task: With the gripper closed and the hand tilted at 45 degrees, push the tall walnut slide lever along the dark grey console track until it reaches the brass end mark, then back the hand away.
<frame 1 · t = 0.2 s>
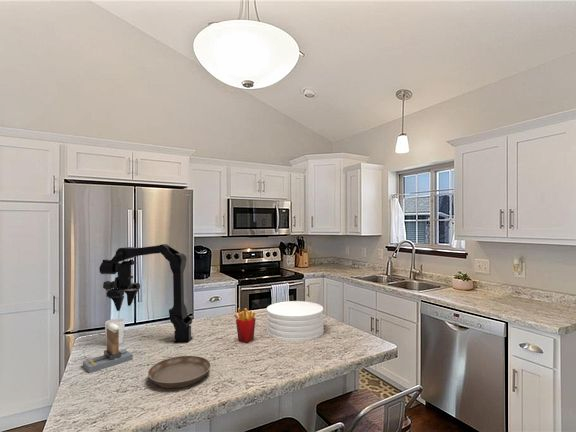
hand: (123, 308, 146), 15 cm above the counter, tool pointing down, fingers open, 9 cm apart
plant saucer: (180, 377, 110), on the counter
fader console: (108, 362, 122), on the counter
french fries: (245, 342, 143), on the counter
slide lever: (112, 339, 123), point 8 cm above the counter, slide at 0.0 cm
plate stack: (295, 331, 156), on the counter
white cup: (114, 343, 142), on the counter
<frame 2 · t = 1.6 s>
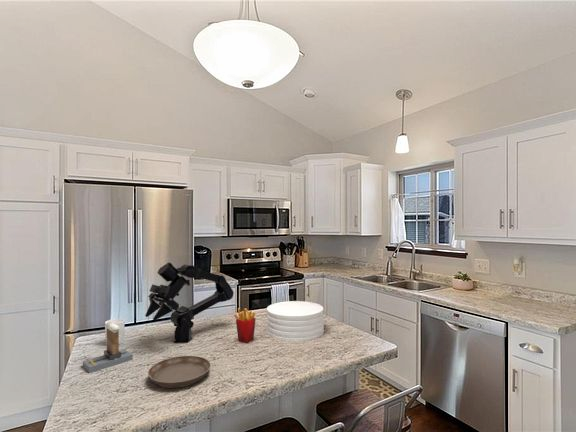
hand: (149, 318, 134), 13 cm above the counter, tool tilted 45°, fingers open, 7 cm apart
nothing on the counter moved.
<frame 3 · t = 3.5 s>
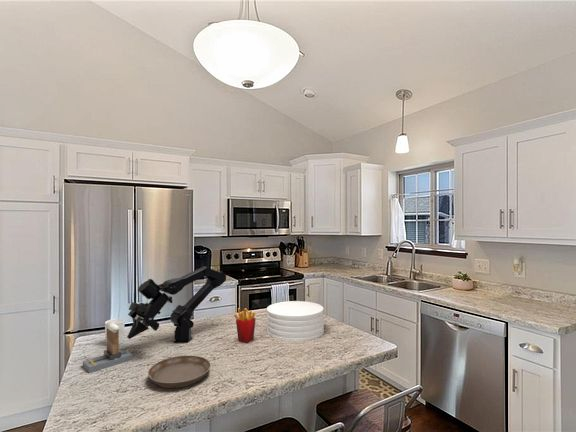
hand: (128, 338, 127), 7 cm above the counter, tool tilted 45°, fingers closed
nothing on the counter moved.
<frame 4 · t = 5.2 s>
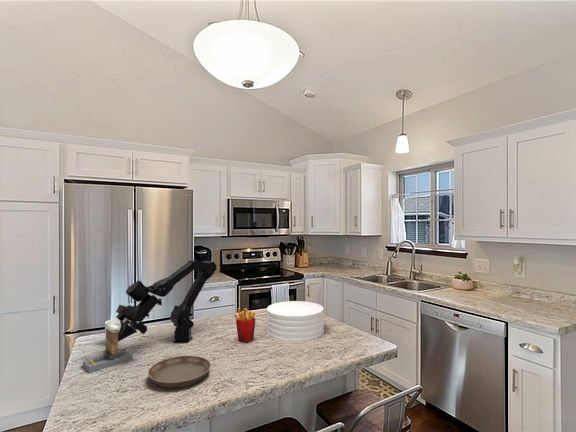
hand: (115, 341, 124), 7 cm above the counter, tool tilted 45°, fingers closed, pressing on slide lever
slide lever: (111, 339, 123), point 8 cm above the counter, slide at 0.3 cm, touching gripper
everything else where it was.
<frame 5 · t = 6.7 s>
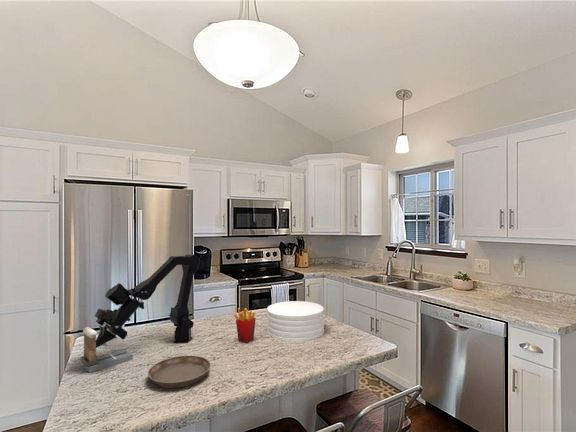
hand: (93, 347, 118), 7 cm above the counter, tool tilted 45°, fingers closed, pressing on slide lever
slide lever: (89, 345, 118), point 8 cm above the counter, slide at 7.8 cm, touching gripper
everything else where it was.
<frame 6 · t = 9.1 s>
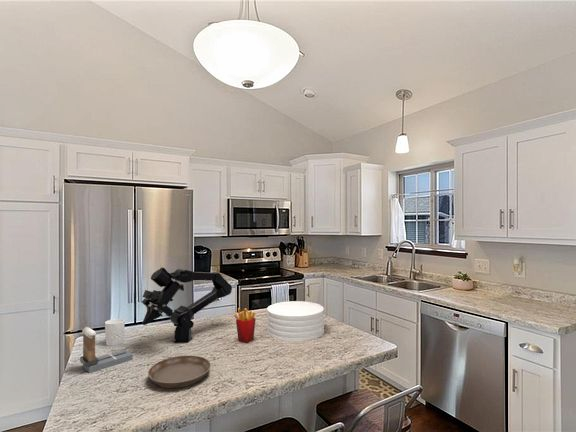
hand: (143, 324, 132), 12 cm above the counter, tool tilted 45°, fingers closed
slide lever: (89, 345, 117), point 8 cm above the counter, slide at 8.0 cm
everything else where it was.
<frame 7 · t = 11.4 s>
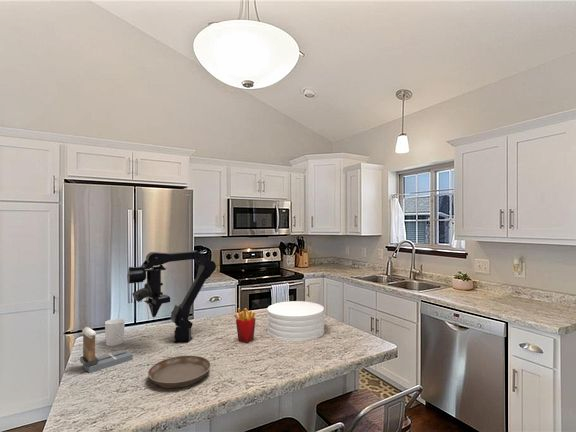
hand: (153, 316, 138), 13 cm above the counter, tool pointing down, fingers closed
nothing on the counter moved.
at the end: slide lever slide at 8.0 cm; the gripper is holding nothing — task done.
